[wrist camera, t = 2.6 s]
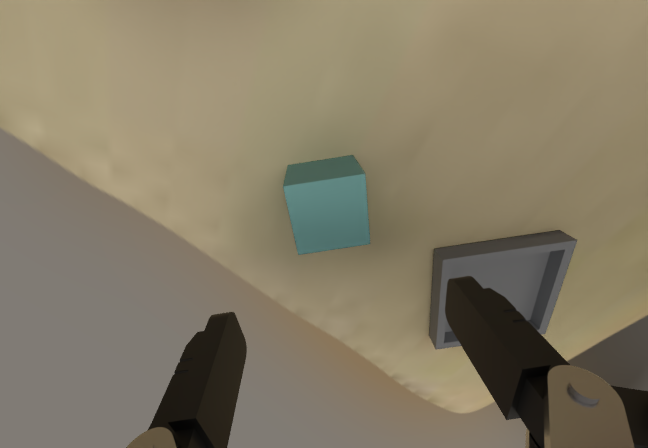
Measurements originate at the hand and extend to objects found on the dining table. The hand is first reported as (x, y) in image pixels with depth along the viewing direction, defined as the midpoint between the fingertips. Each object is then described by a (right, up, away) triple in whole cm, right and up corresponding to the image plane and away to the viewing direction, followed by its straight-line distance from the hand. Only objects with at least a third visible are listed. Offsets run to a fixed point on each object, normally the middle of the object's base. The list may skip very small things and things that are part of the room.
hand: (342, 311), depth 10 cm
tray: (+16, -3, +17) cm, 24 cm away
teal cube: (-1, +6, +12) cm, 13 cm away
